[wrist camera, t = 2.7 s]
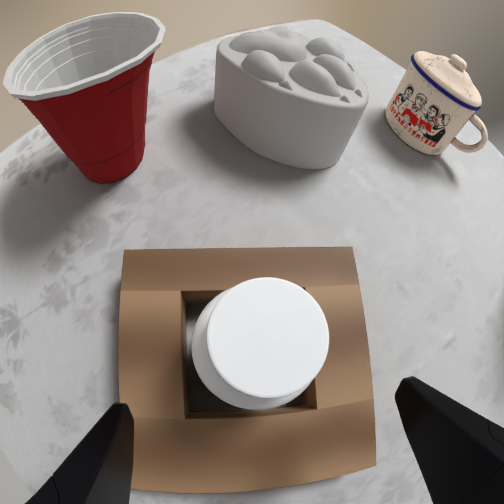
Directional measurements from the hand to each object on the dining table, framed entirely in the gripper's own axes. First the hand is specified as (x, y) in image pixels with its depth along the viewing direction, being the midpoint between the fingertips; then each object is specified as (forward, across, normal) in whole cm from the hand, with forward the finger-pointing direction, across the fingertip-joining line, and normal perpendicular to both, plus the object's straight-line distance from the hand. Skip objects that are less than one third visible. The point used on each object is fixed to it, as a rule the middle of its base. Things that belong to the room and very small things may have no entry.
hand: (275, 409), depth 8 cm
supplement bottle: (+9, 0, +5) cm, 10 cm away
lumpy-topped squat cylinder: (+23, -5, -9) cm, 25 cm away
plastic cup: (+20, +10, -6) cm, 23 cm away
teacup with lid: (+24, -23, -10) cm, 34 cm away
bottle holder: (+8, 0, +6) cm, 10 cm away
